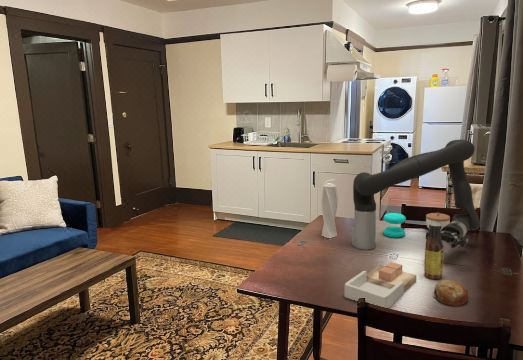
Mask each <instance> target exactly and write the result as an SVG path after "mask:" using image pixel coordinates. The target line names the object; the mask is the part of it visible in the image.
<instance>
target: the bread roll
mask: <svg viewBox="0 0 523 360" xmlns="http://www.w3.org/2000/svg"><path fill="white" fill-rule="evenodd" d="M433 294H434V295H433V298H434V299H436V300H437V301H439V302H440V303H442V304H444V305H447V306H452V307H453V306H454V307H456V306H462V305H465V304H466V303H467V302H468V299H469V294H468V289H466V288H465V286H464V285H463V284H462V283H460V282H459V281H455V280H448V279H441V280H440V281H438V282H437V284H435V287H434V290H433Z"/></svg>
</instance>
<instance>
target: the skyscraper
mask: <svg viewBox="0 0 523 360" xmlns="http://www.w3.org/2000/svg"><path fill="white" fill-rule="evenodd" d="M330 181H333V182H334V183H332V182H330ZM336 181H337V180H336V179H335V178H334V179H332V178H331V179H327V180H326V181H324V183H323V184H322V192H321V213H322V218H323V226H322V231H321V237H322V236H324V237H327V238H332V237H335V236H337V237H338V233H337V229H336V227H337V226H336V223H335V219H336V215H337V211H338V191H337V185H336ZM327 182H328V183H327ZM335 238H336V237H335Z"/></svg>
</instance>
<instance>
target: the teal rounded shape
mask: <svg viewBox="0 0 523 360" xmlns="http://www.w3.org/2000/svg"><path fill="white" fill-rule="evenodd" d="M406 219H407V218H406V216H405V215H404V214H402V213H397V212H389V213H386V214H384V216H383V220H384V221H385V222H386V223H388V224H391V225H389V226H386V227H385V228H384V229H383V232H382V233H383V235H385V236H386V237H389V238H393V239H398V238H399V239H400V238H402V237H404V236H405V235H406V231H405V229H403V228H402V227H400V226H396V225H401V224H403V223H405V221H406ZM393 225H395V226H393Z"/></svg>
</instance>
